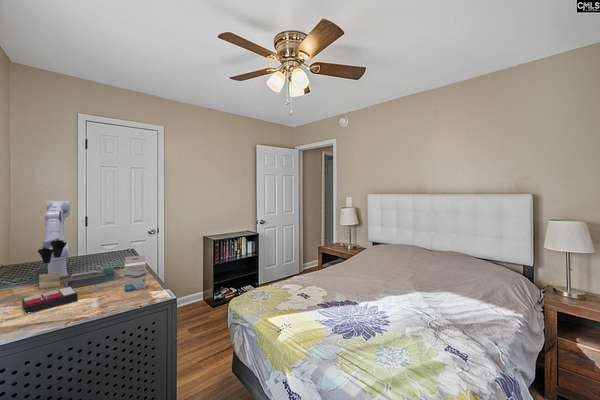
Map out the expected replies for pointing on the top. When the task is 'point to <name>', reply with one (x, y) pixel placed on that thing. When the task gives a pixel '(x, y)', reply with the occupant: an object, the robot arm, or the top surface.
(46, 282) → the birch block
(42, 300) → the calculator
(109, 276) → the vise base
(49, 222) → the robot arm
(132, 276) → the ink box
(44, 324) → the top surface
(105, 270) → the sliding jaw
